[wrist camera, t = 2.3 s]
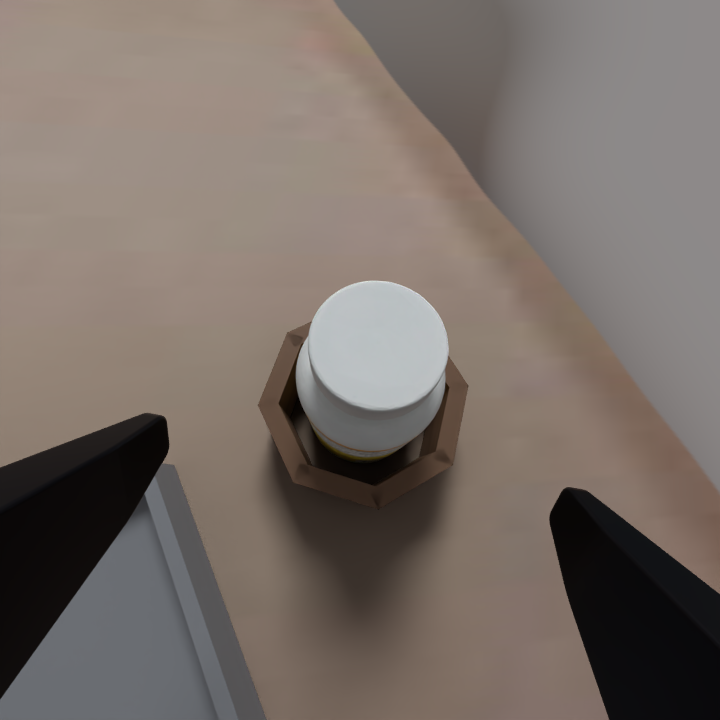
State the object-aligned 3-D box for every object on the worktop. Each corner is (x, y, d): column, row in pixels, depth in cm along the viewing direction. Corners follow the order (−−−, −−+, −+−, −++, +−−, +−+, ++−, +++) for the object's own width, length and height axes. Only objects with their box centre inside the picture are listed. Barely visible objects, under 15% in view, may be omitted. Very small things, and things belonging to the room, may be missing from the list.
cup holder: (473, 445, 18) (501, 436, 15) (325, 532, 17) (320, 544, 13) (390, 313, 21) (399, 280, 18) (253, 378, 19) (235, 356, 16)
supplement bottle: (382, 483, 18) (423, 481, 9) (291, 430, 18) (240, 377, 9) (427, 392, 19) (502, 311, 10) (343, 347, 20) (342, 233, 11)
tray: (294, 797, 14) (285, 855, 11) (-16, 1027, 11) (-99, 1152, 9) (174, 464, 17) (150, 462, 15) (-75, 590, 15) (-144, 607, 13)
